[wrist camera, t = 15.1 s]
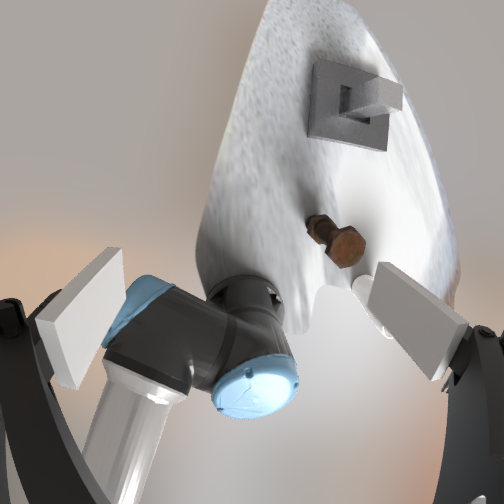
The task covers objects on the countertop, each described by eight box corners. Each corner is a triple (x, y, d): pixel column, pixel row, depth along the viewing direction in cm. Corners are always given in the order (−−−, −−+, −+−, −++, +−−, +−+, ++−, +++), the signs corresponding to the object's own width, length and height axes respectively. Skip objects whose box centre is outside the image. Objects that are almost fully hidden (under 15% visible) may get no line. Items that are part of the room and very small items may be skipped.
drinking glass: (373, 297, 56) (409, 335, 42) (345, 301, 55) (378, 342, 41) (377, 268, 54) (418, 302, 40) (349, 271, 53) (386, 308, 39)
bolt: (333, 223, 50) (372, 249, 36) (314, 243, 51) (347, 276, 36) (312, 201, 48) (348, 220, 34) (292, 222, 49) (321, 249, 35)
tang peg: (357, 119, 43) (402, 110, 30) (337, 114, 43) (378, 102, 30) (358, 99, 42) (402, 85, 29) (339, 94, 42) (379, 76, 28)
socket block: (376, 151, 46) (386, 151, 43) (307, 137, 44) (313, 135, 41) (380, 83, 42) (390, 80, 38) (313, 64, 40) (319, 58, 36)
